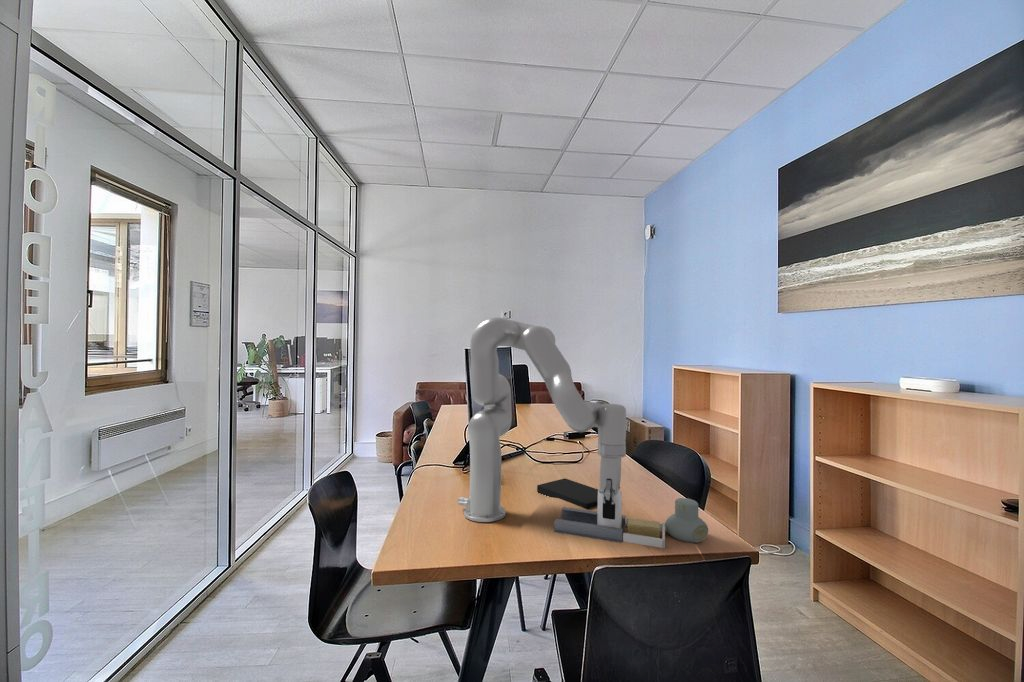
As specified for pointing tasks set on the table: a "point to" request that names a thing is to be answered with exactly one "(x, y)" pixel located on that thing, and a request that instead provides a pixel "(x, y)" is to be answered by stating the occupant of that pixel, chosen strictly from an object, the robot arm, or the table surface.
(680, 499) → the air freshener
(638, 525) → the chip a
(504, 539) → the table surface
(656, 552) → the table surface
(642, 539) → the tray
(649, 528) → the chip
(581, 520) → the slot rail
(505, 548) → the table surface
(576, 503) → the external hard drive
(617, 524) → the can
